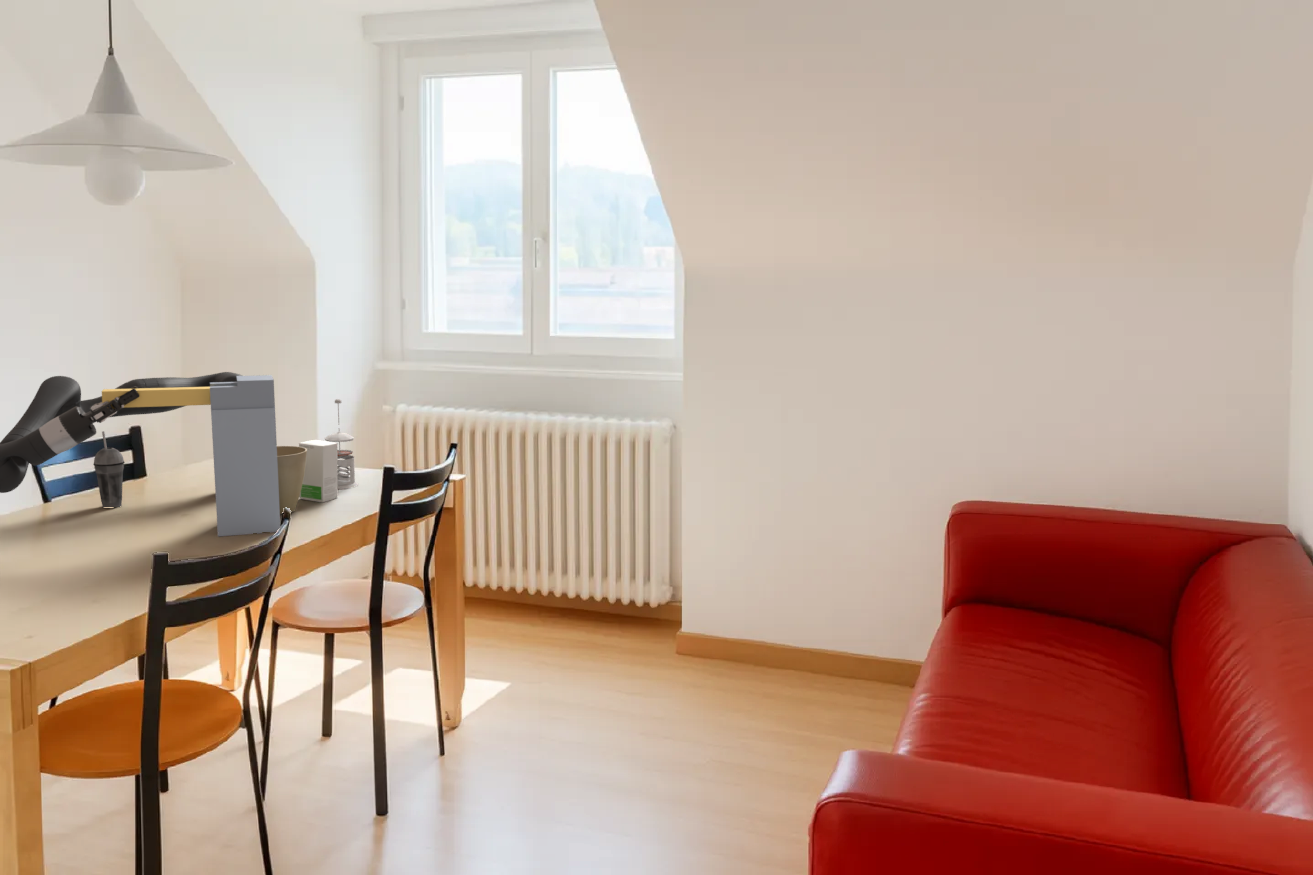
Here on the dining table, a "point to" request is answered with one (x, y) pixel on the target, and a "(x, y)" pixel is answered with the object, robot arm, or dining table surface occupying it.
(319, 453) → the skincare box
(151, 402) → the bar
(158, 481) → the dining table surface
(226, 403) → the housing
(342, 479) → the french press
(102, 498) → the beverage cup
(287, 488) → the plant pot
